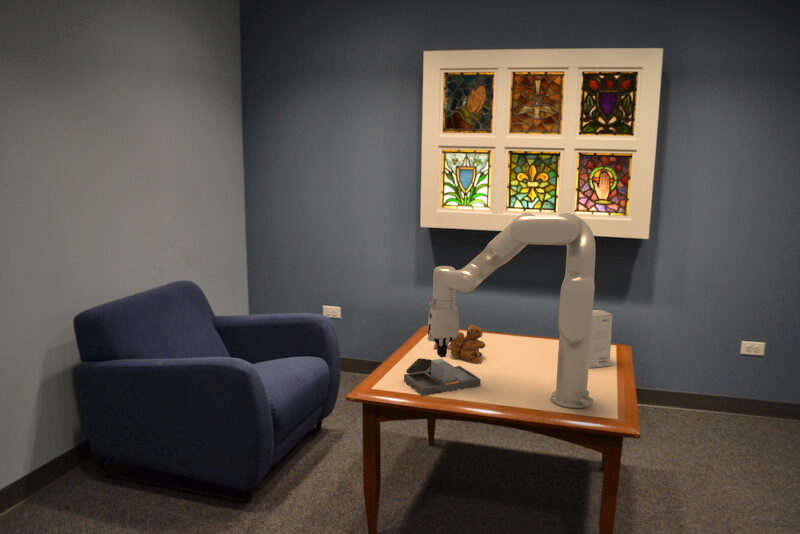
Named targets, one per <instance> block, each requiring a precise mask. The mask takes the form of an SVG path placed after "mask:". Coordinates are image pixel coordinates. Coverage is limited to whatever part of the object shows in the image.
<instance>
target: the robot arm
mask: <svg viewBox="0 0 800 534" xmlns="http://www.w3.org/2000/svg"><path fill="white" fill-rule="evenodd" d="M528 245H538V246H539V245H541V246H542V245H543V246H545V245H547V246H549V245H550V246H566V259H565V273H564V278H563V281H562V284H561V288H560V293H559V308H558V309H559V310H558V324H557V328H558V332H559V338H558V352H557V365H556V366H557V367H556V368H557V369H556V382H555V391H553V392H551V393H550V400H551V402H552V403H554V404H556V406H557V405H558V406H561V407H564V408H569V409H583V408H587V407H590V406H591V405H592V404H593V402H594V398H592V397H591V396H590V391H588V384H589V382H588V381H589V370H590V368H589V356H590V344H591V331H592V313H593V310H594V299H595V297H594V296H595V288H596V287H595V286H596V285H595V269H596V268H595V267H596V240H595V236H594V234H593V231H592V229H591V227H590V226H589V225H588V223H587V222H586V221H585V220H584V219H582V218H581V217H580V216H577V215H576V214H574V213H570V212H563V213H561V214H558V215H557V216H541V215H540V216H539V215H538V216H536V215H535V214H532V213H531V212H526V213H525V212H524V213H522V214H520V215H518V216H517V217H515V218H514V219H513V220H512V222H510V223H509V224H508V225H507V226H506V227H505V228H504V229H502V231H500V232H499V233H498V234H497V235H496V236H494V238H493V239H492V240H490V241H489V242H488V244H487V245H486V247H485V248H484V249H483V250H482V251H481V252H480V253H479V254H478V255H477V256H476V257H474V258H473V259H472V260H471V261H470V262H468V263H467V264H466V265H465V266H464V267H462V268H460V269H456V268H455V267H454V266H450V265H449V266H448V265H440V266H436V267H435V268H434V269H433V274H432V275H433V276H432V277H433V278H432V280H433V281H432V298H431V300H430V301H428V305H429V306H431V307H430V309H429V313H428V319H427V329H426V330H427V341H429V342H434V344H435V343H436V344H437V349H436V354H437V356H438V357H440V359H443V358H446V357H447V354H448V346H449V344H450V343H451V342H450V341H451V340H452V339H455V338H457V336H458V335H459V332H460V317H459V310H458V309H459V308H458V307H457V306H456V294H457V293H456V292H460V293H464V294H466V293H470V292H473V291H474V290H475V289H476V288H477V287H478V286H479V285H480V284H481V283H482V282H483V281H484V280H485V279H487V277H489V276H490V275H491V274H493V273H494V271H496V270H497V269H498V268H500V267H501V266H503V265H505V264H507V263H508V262H509V261H510V260H511V259H513V258H514V257H516V255H517V254H519V253H520V252H521V251H522V250H523V249H524V248H525V247H526V246H528ZM442 338H443V339H442Z"/></svg>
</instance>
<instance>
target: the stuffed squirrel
mask: <svg viewBox="0 0 800 534" xmlns="http://www.w3.org/2000/svg"><path fill="white" fill-rule="evenodd" d="M482 336H483V329H482V328H481V327H479V326H477V325H474V324H469V326H468V328H467V331H466V334H464V332H461V331H459V335H458V336H457V338H455V339H452V340H451V341H450V342H449V343H451V349H450V350H451V351H450V354H451V356H452V357H453V358H454V359H455V360H463V361H465V362H468V363H471V364H478V363H480V364H481V363H482V362H483V361H482V358H481V357H482V356H483V353H482V352H480V350H483V349H484V348H486V343H485V342H484V341H483V340H482V341H481V340H479V339H480V338H483V337H482ZM480 356H481V357H480Z"/></svg>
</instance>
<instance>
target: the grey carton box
mask: <svg viewBox="0 0 800 534" xmlns="http://www.w3.org/2000/svg"><path fill="white" fill-rule="evenodd" d="M613 318H614V315H613V314H612V313H610V312H607V311H605V310H603V309H597V310H596V309H595V310H594V309H593V313H592V331H591V344H590V356H589V369H593V368H603V367H604V368H605V367H610V365H611V351H612V350H611V347H612V335H613V333H612V331H613Z"/></svg>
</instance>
